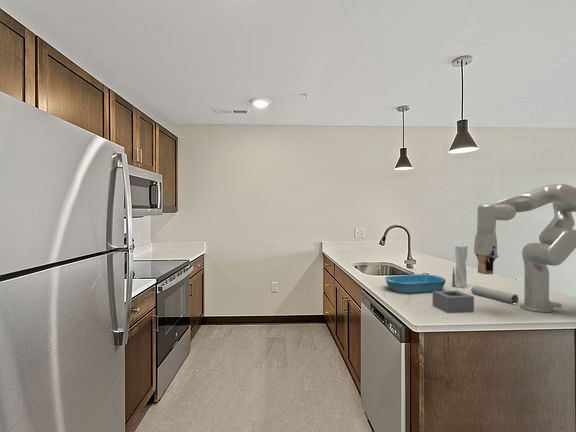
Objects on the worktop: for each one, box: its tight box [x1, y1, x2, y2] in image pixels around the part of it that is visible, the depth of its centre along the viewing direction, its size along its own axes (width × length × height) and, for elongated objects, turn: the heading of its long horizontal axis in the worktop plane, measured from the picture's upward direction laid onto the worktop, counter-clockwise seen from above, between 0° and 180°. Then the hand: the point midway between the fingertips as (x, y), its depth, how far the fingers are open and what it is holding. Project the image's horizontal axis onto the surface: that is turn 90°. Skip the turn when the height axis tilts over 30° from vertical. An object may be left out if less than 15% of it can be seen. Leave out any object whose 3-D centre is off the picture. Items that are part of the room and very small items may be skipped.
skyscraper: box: [451, 241, 469, 289], centre depth 210 cm, size 8×8×28 cm
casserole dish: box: [384, 273, 447, 294], centre depth 203 cm, size 37×22×7 cm, turn 104°
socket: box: [432, 289, 475, 314], centre depth 163 cm, size 13×13×7 cm
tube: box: [470, 285, 519, 305], centre depth 182 cm, size 5×5×25 cm
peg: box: [477, 254, 494, 275], centre depth 158 cm, size 4×4×10 cm
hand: (485, 269), depth 158 cm, fingers closed on peg, 4 cm apart
